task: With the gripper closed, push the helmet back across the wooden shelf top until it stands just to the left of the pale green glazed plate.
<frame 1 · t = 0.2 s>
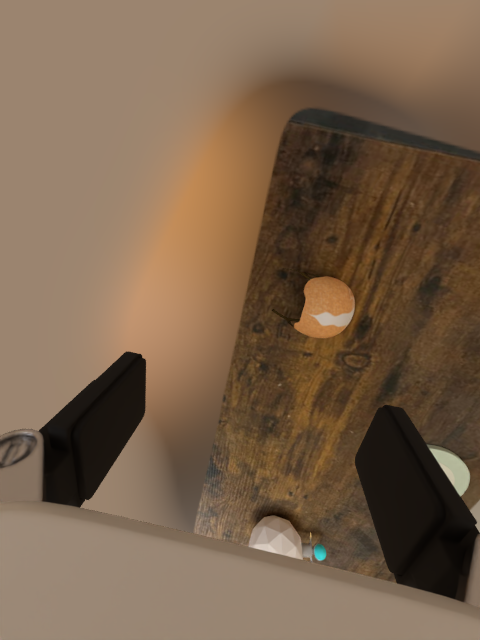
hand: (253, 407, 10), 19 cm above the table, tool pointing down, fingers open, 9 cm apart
plate: (415, 477, 35), on the table
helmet: (310, 295, 28), on the table
perfume bottle: (286, 522, 42), on the table
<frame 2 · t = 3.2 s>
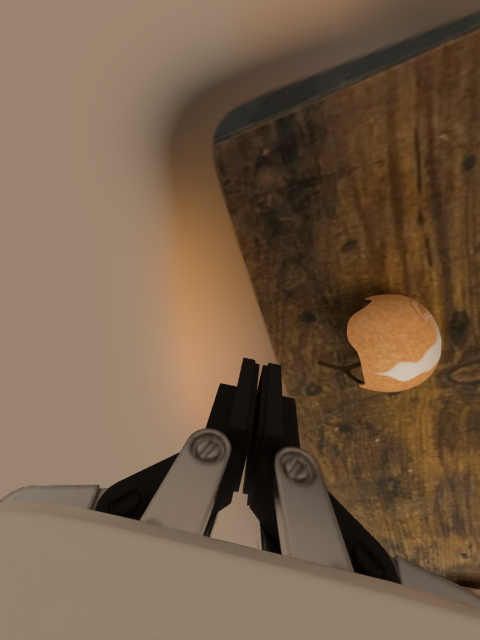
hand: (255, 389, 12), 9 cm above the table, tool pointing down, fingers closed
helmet: (358, 323, 20), on the table
perfume bottle: (477, 588, 31), on the table
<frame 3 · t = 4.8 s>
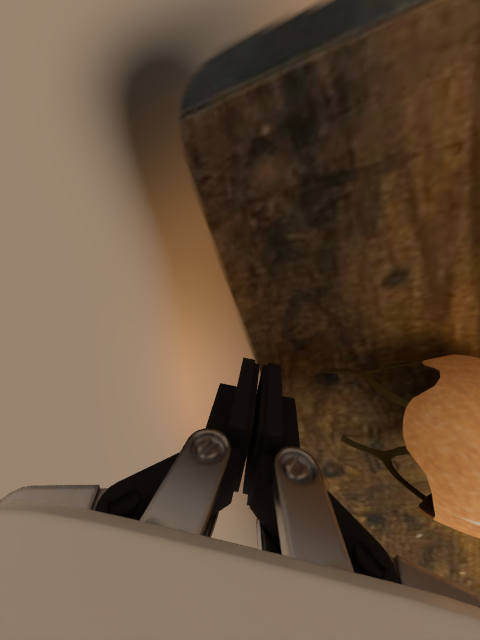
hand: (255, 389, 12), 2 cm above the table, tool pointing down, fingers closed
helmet: (402, 388, 13), on the table
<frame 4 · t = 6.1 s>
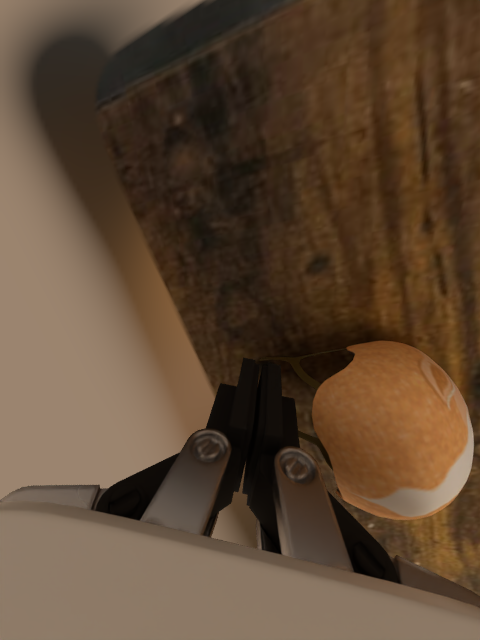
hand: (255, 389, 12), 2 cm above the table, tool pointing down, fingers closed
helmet: (341, 376, 13), on the table, touching gripper
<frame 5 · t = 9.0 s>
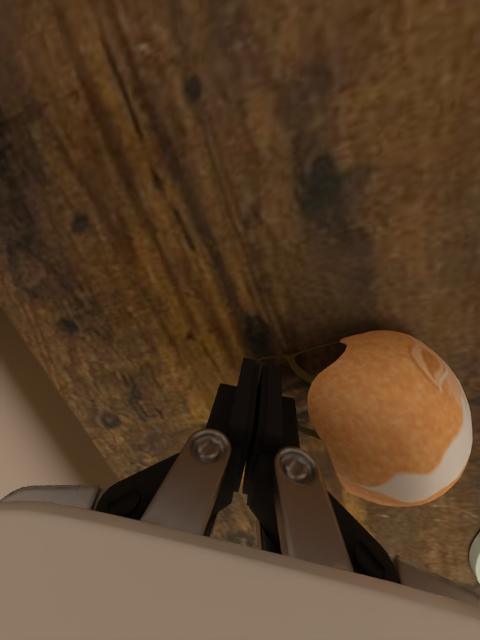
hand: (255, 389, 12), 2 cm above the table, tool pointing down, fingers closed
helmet: (341, 369, 13), on the table, touching gripper
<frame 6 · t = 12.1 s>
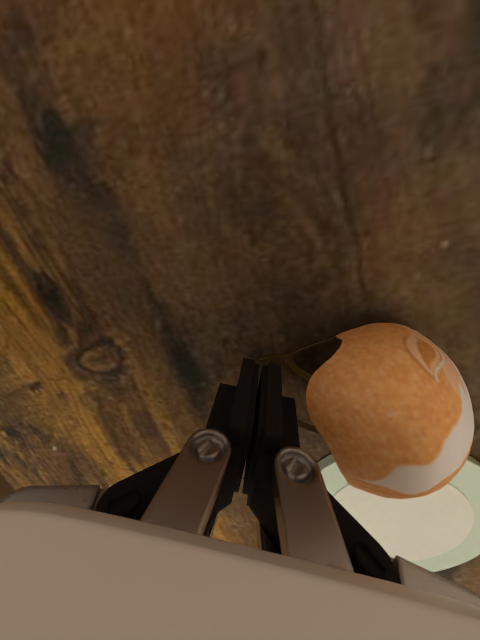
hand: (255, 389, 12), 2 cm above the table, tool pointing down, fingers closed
plate: (390, 508, 17), on the table
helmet: (341, 364, 13), on the table, touching gripper
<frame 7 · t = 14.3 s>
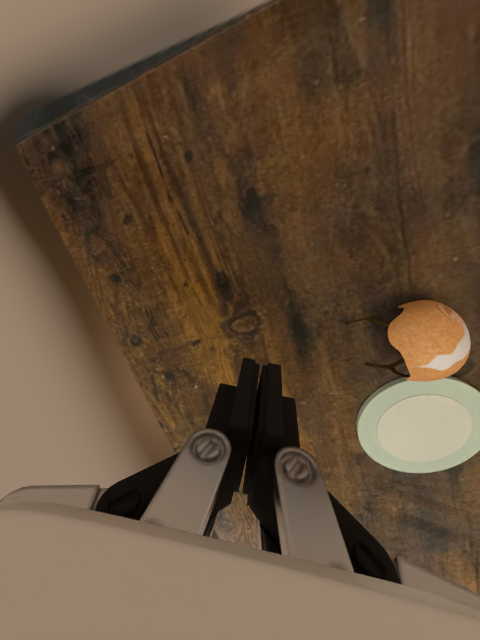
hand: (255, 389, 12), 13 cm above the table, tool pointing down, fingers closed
plate: (418, 424, 26), on the table
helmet: (395, 327, 23), on the table
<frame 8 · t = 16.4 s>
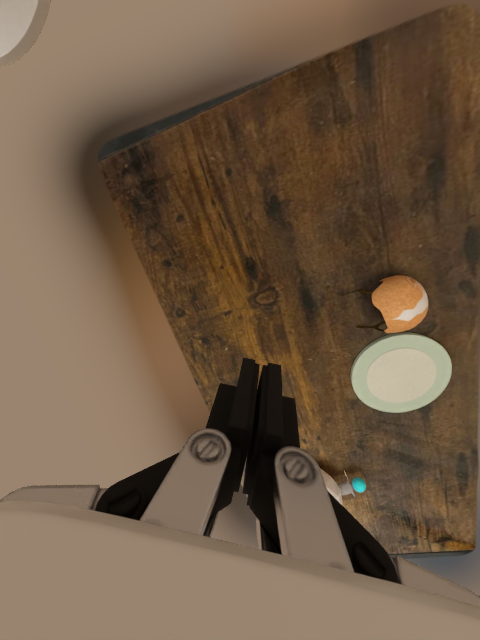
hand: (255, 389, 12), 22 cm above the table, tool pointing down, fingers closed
plate: (397, 373, 35), on the table
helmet: (378, 297, 31), on the table
perfume bottle: (322, 471, 43), on the table
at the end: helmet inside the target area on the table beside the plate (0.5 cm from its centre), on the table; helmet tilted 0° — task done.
